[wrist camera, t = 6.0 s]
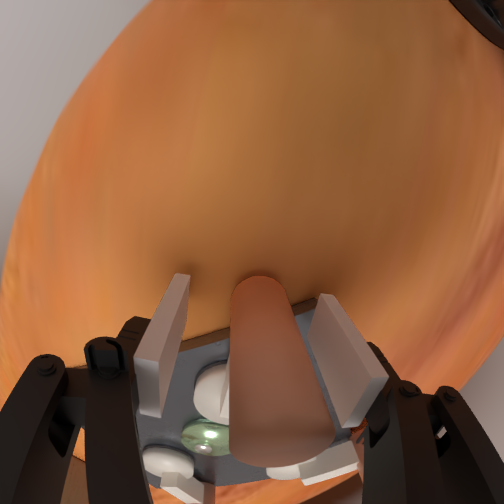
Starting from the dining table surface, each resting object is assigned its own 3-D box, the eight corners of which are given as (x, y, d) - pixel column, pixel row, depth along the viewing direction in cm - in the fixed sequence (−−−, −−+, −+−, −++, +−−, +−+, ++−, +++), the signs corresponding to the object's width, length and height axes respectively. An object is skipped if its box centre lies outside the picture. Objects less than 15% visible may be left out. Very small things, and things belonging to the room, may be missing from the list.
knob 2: (259, 416, 18) (271, 523, 9) (191, 406, 17) (178, 517, 9) (310, 285, 15) (382, 411, 6) (218, 266, 14) (198, 403, 6)
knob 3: (274, 474, 21) (284, 545, 13) (258, 455, 20) (266, 540, 11) (377, 440, 21) (407, 507, 12) (376, 417, 19) (413, 495, 11)
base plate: (315, 297, 17) (325, 316, 14) (352, 445, 23) (357, 461, 20) (46, 372, 18) (35, 388, 16) (157, 481, 24) (155, 495, 22)
